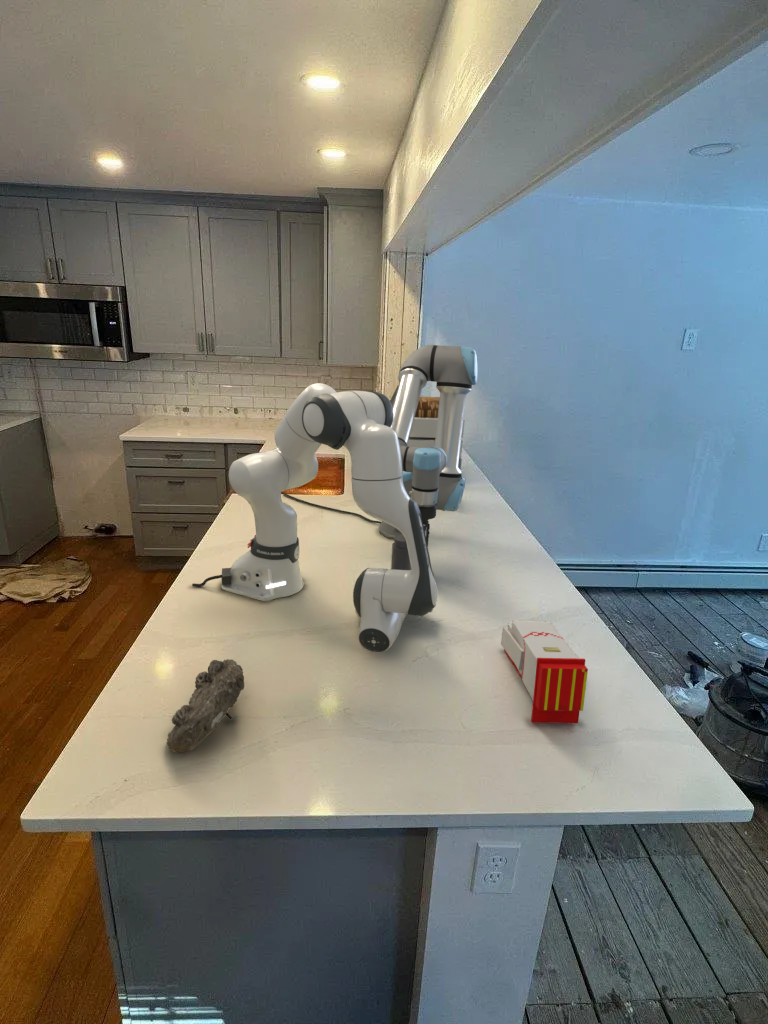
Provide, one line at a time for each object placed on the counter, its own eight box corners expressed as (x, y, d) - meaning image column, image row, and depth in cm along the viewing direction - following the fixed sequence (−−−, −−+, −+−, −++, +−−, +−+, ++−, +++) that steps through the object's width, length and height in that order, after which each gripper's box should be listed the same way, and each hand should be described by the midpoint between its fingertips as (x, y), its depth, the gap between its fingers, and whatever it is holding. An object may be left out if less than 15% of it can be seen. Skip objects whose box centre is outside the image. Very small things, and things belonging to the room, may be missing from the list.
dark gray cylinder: (391, 609, 150) (394, 542, 143) (387, 600, 154) (391, 534, 148) (410, 608, 150) (414, 541, 144) (406, 599, 155) (410, 534, 149)
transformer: (382, 463, 289) (386, 382, 275) (445, 464, 293) (451, 384, 279) (390, 482, 257) (394, 392, 243) (460, 483, 261) (468, 394, 247)
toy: (547, 606, 135) (596, 665, 106) (541, 658, 138) (589, 729, 108) (496, 604, 134) (532, 664, 105) (492, 657, 137) (526, 729, 108)
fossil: (192, 660, 117) (244, 628, 112) (224, 691, 120) (276, 661, 115) (142, 746, 98) (202, 712, 93) (182, 779, 101) (242, 748, 96)
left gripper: (432, 602, 135) (440, 577, 148) (350, 589, 139) (364, 566, 152) (430, 625, 137) (438, 598, 150) (349, 612, 141) (363, 587, 154)
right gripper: (407, 492, 170) (403, 562, 178) (413, 513, 152) (408, 590, 160) (432, 493, 171) (426, 563, 178) (441, 514, 153) (434, 591, 160)
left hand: (400, 582), depth 151 cm, fingers closed on dark gray cylinder, 5 cm apart
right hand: (418, 576), depth 169 cm, fingers open, 6 cm apart
